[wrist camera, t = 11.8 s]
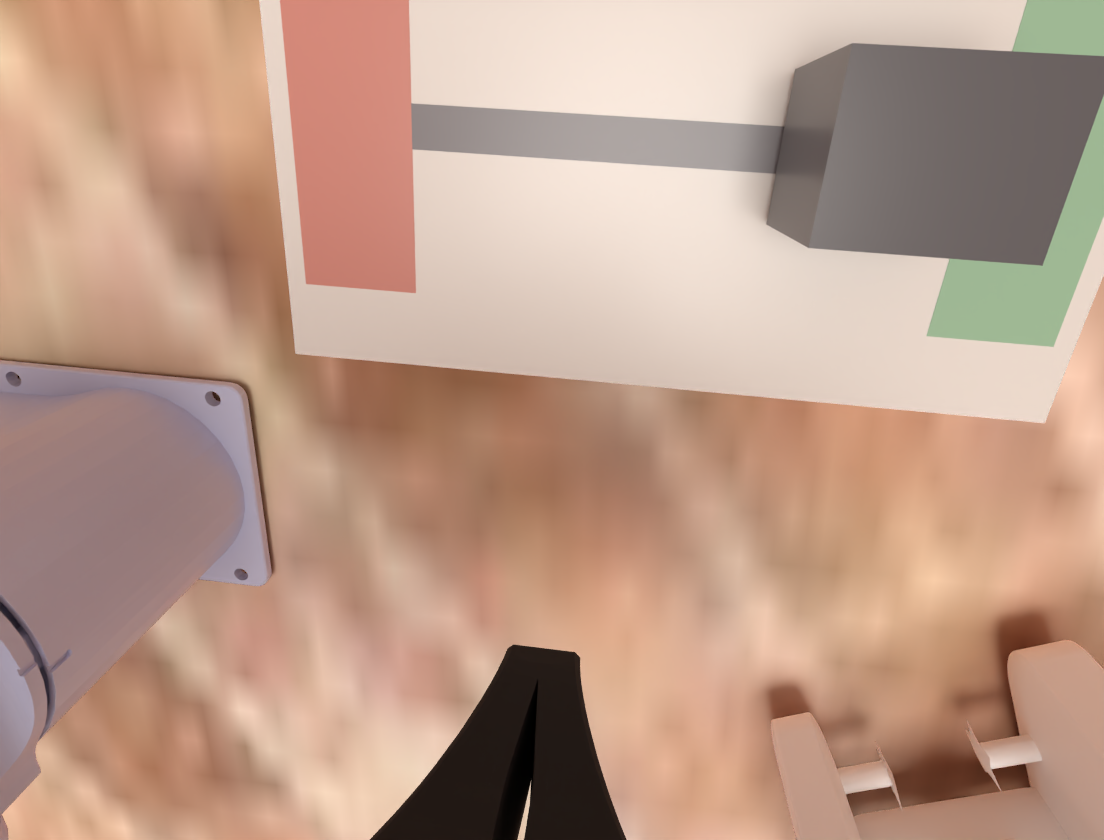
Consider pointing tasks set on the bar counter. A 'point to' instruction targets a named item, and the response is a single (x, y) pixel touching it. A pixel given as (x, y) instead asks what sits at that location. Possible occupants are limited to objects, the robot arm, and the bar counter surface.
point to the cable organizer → (989, 819)
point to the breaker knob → (934, 150)
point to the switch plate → (642, 201)
